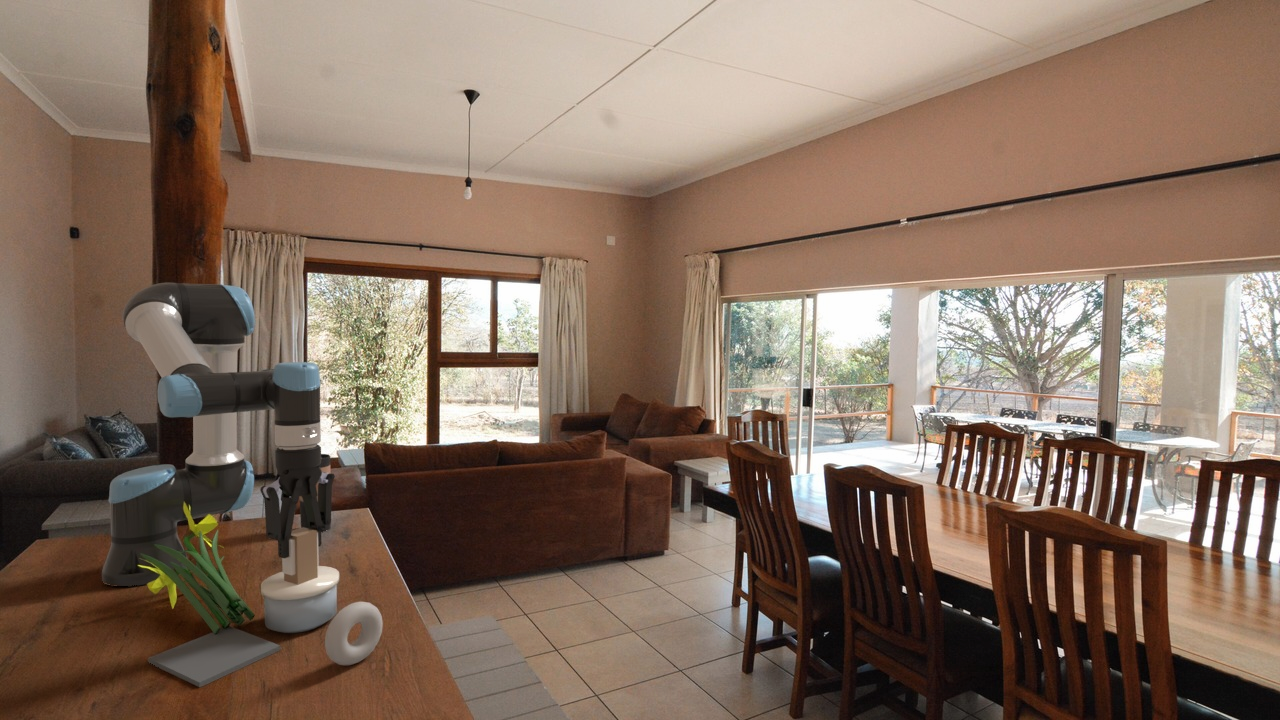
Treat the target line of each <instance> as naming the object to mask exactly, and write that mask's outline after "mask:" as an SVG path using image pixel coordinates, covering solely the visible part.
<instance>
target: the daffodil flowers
mask: <svg viewBox="0 0 1280 720" xmlns="http://www.w3.org/2000/svg"><path fill="white" fill-rule="evenodd" d="M189 509H190V505H189ZM183 510H184V513H185V515H186V517H187V519H188V520H187V521H188V522H187V523H188V528H189V530H186V531H185V532H184V535H183V538H182V541H183V543H182V544H184V547H185V548H186V549H184V550H181V551H176V550H174V549H172V548H169V547H165V546H162V545H157V544H154V545H155V546H156V547H157V548H159V549H161V550H163V551H164V552H166V553H168V554H169V555H171V556H173V557H174V558H176V559H177V560H178V561H179V562H181V563H182V564H183V565H184V566H186V567H187V569H186V568H183V567H180V566H178V565H177V564H175V563H173V562H171V561H170V563H171V564H172V566H173V567H174V568H173V569H171V568H170V567H168V566H167V565H165V564H164V563H162V562H160V561H158V560H156V559H154V558H152V557H150V556H147V555H144V554H141V553H140V555H141V556H143V557H144V558H145V559H147V560H148V561H149V563H150V562H151V564H153V565H154V566H155V567H157V568H158V569H156V568H152V567H147V566H141V565H138V566H140V567H143V568H148V569H150V570H153V571H155V572H156V573H158V574H160V576H159V577H158V578H157V579H156V580H154V581H152V582H149V583H148V584H146V586H147V587H148V590H149V592H151V593H153V594H155V595H157V594H158V593H159V592H160V591H161V590H162V589H163V588H164V587H165V586H166V588H167V592H168V597H169V602H170V605H171V609H172V610H173V609H174V607H175V605H176V603H177V597H178V595H177V588H178V589H179V591H180V592H181V593H182V594H183V596H184V598H186V599H187V600H188V603H190V605H191V606H192V607H193V608H194V609H195V611H196V612H197V613H198V614H199V616H200V617H201V618H202V619H203V620H204V623H206V624H207V626H208V627H209V629H210V630H211V631H212V632H213V633H214V634H215V635H216V634H217V633H218V632H219V630H220V629H221V627H222V628H228V627H229V626H231V623H232V624H233V623H234V624H236V625H237V627H240V626H241V625H242V624H243V623H244V622H245V620H246V619H245V618H244V617H243V614H244V615H245V616H246V618H247V619H248V620H249V621H252V620H253V619H254V617H256V616H255V615H256V614H255V613H254V612H253V610H251V609H250V607H249V606H248V605H247V604H246V603H245V601H244V600H243V599H242V597H240V595H239V594H238V593H237V592H236V590H235V588H234V586H233V585H232V583H231V581H230V580H229V577H228V575H227V573H226V571H225V569H224V566H223V564H222V561H223V560H224V559H225V555H224V556H222V557H220V555H219V551H218V547H221V548H223V549H225V546H223V545H220V544H218V536H219V529H217V530H216V531H215V533H214V536H213V538H212V540H211V539H210V537H208V536H207V535H205V534H208V533H210V532H211V531H213V530H214V529H215V528H217V526H218V525H219V523H218V521H217V519H216V517H214V515H210V514H209V515H207V516H204V517H203V519H202V520H201V521H200V522H198V523H197V524H196V523H195V521H194V519H192V517H191V515H190V512H189V510H188V508H187V506H186V504H185V502H184V505H183ZM194 537H195V538H196V537H197V538H198V543H199V551H200V553H199V552H198V551H197V549H196V548H195V547H194V545H193V544H192V543H191V540H192V539H193V538H194ZM205 543H206V544H208V546H209V547H211V548H210V549H211V552H212V555H213V559H214V562H215V564H216V566H215V564H214V563H213V562H212V559H211V558H210V555H209V553H208V551H207V550H208V549H207V547H206V544H205ZM182 552H185V553H186V554H189V555H190V556H191V557H192V558H194V560H195V561H196V563H195V564H194V563H193V562H192V561H191V560H190V559H189V558H188V557H187V558H186V557H185V556H183V555H182V554H181V553H182ZM140 559H141V558H140ZM142 560H143V559H142ZM147 560H145V561H147ZM148 561H147V562H148ZM181 577H182V578H181ZM195 577H197V578H198V579H199V581H201V583H203V584H204V585H205V586H206V587H205V586H203V585H201V584H200V583H199V582H198V581H197V579H196V578H195ZM183 579H184V580H183ZM186 583H187V584H188V586H187V584H186ZM190 588H192V589H193V590H194V591H195V593H196V594H197V595H198V596H199V598H200V599H201V600H202V602H204V605H206V607H207V608H208V609H209V611H210V612H209V611H208V610H207V608H206V607H205V606H204V605H203V604H202V602H201V601H200V600H199V599H198V598H197V596H196V594H194V593H193V591H191V589H190ZM210 613H211V614H212V615H213V616H214V617H215V619H214V617H213V616H212V615H211V614H210ZM216 620H217V621H216ZM218 623H219V624H220V625H219V624H218ZM220 626H221V627H220Z"/></svg>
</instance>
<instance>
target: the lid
mask: <svg viewBox="0 0 1280 720" xmlns="http://www.w3.org/2000/svg"><path fill="white" fill-rule="evenodd" d="M291 539H295V574H294V575H288V574H285V573H282V571H279V572H277V573H274V574H273V575H272V574H271V575H270V576H268V577H267V578H265V579H264V580H263V581H262V582H261V584H260V593H261V596H263V597H266V598H269V599H274V600H294V599H301V598H306V597H311V596H315V595H318V594H321V593H323V592H326V591H328V590H330V589H332V588H333V587H335V586H336V585H337V586H338V584H339V582H340V571H339V570H338V569H336V568H334V567H330V566H325V565H324V566H323V565H319V566H317V531H316V530H312V529H308V528H304V527H302V528H301V527H299V528H296V529H292V532H291Z"/></svg>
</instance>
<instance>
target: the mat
mask: <svg viewBox="0 0 1280 720" xmlns="http://www.w3.org/2000/svg"><path fill="white" fill-rule="evenodd" d="M279 651H281V645H280V644H278V643H274V642H272V641H269V640H267V639H264V638H262V637H260V636H258V635H257V636H256V635H254V634H252V633H248V632H246V631H244V630H241V629H238V628H236V627H233V626H231V625H229V627H228V628H223V627H222V628H220V630H219V632H218V633H217V634H216V635H215V634H214V633H213V631H212V632H210V633H207V634H205V635H202V636H200V637H198V638H194V639H192V640H189V641H187V642H185V643H182V644H180V645H177V646H175V647H173V648H169V649H167V650H164V651H162V652H160V653H157V654H154V655H152V656H150V657H147V662H149V663H148V664H150V663H151V664H150V665H152V664H153V665H152V666H154V665H155V666H154V667H157V668H158V667H159V668H158V669H160V670H162V671H165V672H167V673H169V674H171V675H173V676H175V677H176V678H179V679H181V680H183V681H185V682H188V683H190V684H191V685H193V686H196V687H198V688H201V687H204V686H206V685H208V684H210V683H213V682H214V681H217V680H219V679H221V678H224V677H225V676H227V675H230V674H232V673H234V672H237V671H238V670H241V669H243V668H245V667H247V666H249V665H252V664H253V663H255V662H257V661H260V660H262V659H264V658H266V657H269V656H271V655H273V654H275V653H278V652H279Z"/></svg>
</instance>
